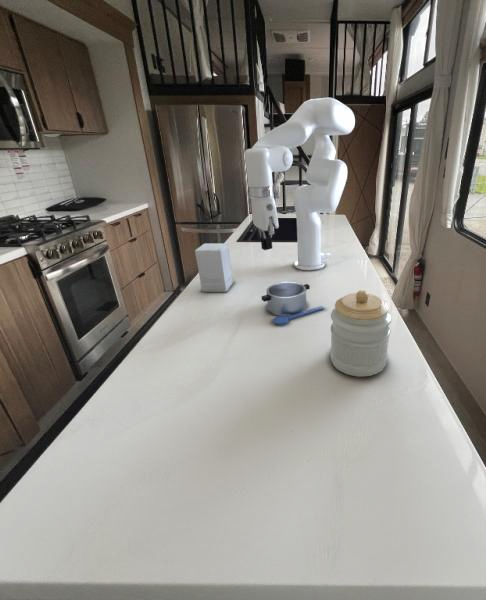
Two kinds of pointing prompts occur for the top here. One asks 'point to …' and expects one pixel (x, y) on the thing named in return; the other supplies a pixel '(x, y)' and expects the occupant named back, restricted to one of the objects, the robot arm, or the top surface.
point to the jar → (360, 334)
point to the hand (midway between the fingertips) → (267, 248)
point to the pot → (286, 298)
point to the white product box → (214, 267)
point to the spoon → (294, 316)
